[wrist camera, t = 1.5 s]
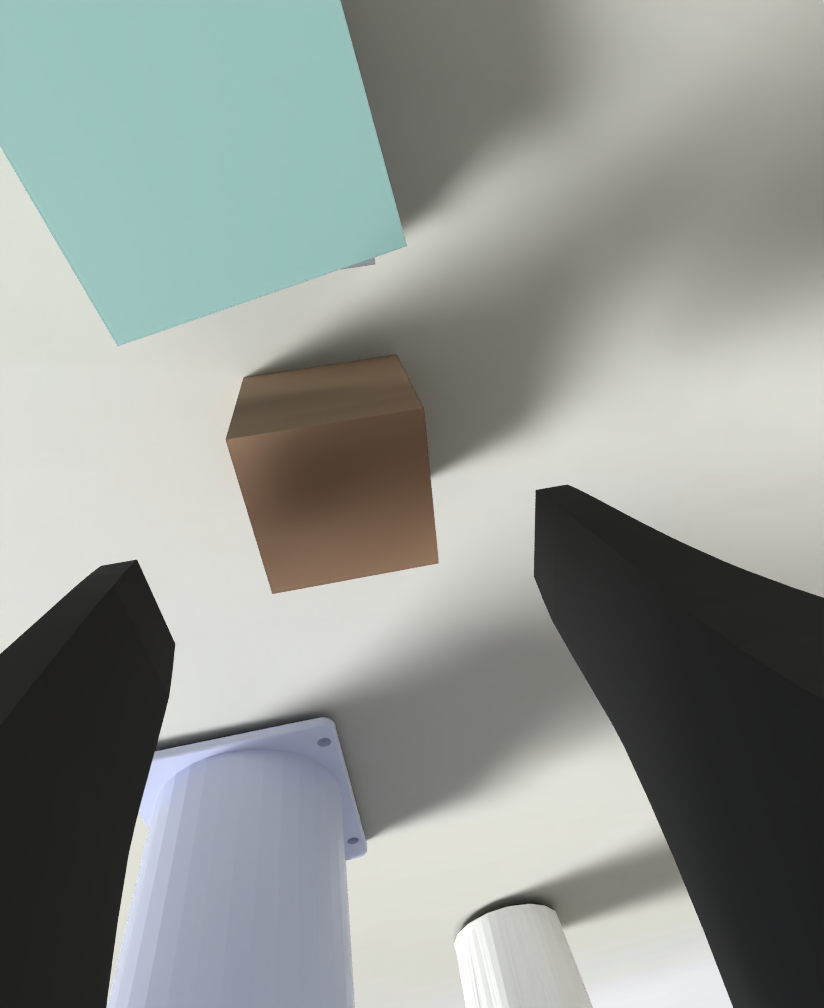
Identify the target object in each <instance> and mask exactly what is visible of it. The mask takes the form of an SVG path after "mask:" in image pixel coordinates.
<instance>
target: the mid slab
mask: <svg viewBox="0 0 824 1008" xmlns="http://www.w3.org/2000/svg"><path fill="white" fill-rule="evenodd" d="M0 147H1V148H2V150H3V152H4V153H5V155H6V157H7V159H8V160H9V162H10V164H11V165H12V167H13V169H14V170H15V172H16V174H17V176H18V177H19V179H20V181H21V182H22V184H23V186H24V188H25V189H26V191H27V193H28V194H29V196H30V198H31V199H32V201H33V203H34V205H35V206H36V208H37V210H38V211H39V213H40V215H41V216H42V218H43V220H44V222H45V223H46V225H47V227H48V228H49V230H50V232H51V234H52V235H53V237H54V239H55V240H56V242H57V244H58V245H59V247H60V249H61V251H62V252H63V254H64V256H65V257H66V259H67V261H68V262H69V264H70V266H71V268H72V269H73V271H74V273H75V274H76V276H77V278H78V280H79V281H80V283H81V285H82V286H83V288H84V290H85V291H86V293H87V295H88V297H89V298H90V300H91V302H92V303H93V305H94V307H95V308H96V310H97V312H98V314H99V315H100V317H101V319H102V320H103V322H104V324H105V326H106V327H107V329H108V331H109V332H110V334H111V336H112V337H113V339H114V341H115V343H116V344H117V346H120V345H123V344H126V343H129V342H131V341H134V340H137V339H140V338H143V337H146V336H149V335H152V334H155V333H157V332H160V331H163V330H166V329H169V328H172V327H175V326H178V325H180V324H183V323H186V322H189V321H192V320H195V319H198V318H201V317H204V316H206V315H209V314H212V313H215V312H218V311H221V310H224V309H227V308H229V307H232V306H235V305H238V304H241V303H244V302H247V301H250V300H253V299H255V298H258V297H261V296H264V295H267V294H270V293H273V292H276V291H279V290H281V289H284V288H287V287H290V286H293V285H296V284H299V283H302V282H304V281H307V280H310V279H313V278H316V277H319V276H322V275H325V274H328V273H330V272H333V271H336V270H339V269H342V268H345V267H348V266H351V265H353V264H356V263H359V262H362V261H365V260H368V259H371V258H374V257H377V256H379V255H382V254H385V253H388V252H391V251H394V250H397V249H400V248H402V247H405V246H407V244H406V240H405V237H404V233H403V229H402V226H401V222H400V218H399V214H398V211H397V207H396V203H395V200H394V196H393V192H392V189H391V185H390V181H389V178H388V174H387V170H386V167H385V163H384V159H383V155H382V152H381V148H380V144H379V141H378V137H377V133H376V130H375V126H374V122H373V119H372V115H371V111H370V107H369V104H368V100H367V96H366V93H365V89H364V85H363V82H362V78H361V74H360V71H359V67H358V63H357V60H356V56H355V52H354V48H353V45H352V41H351V37H350V34H349V30H348V26H347V23H346V19H345V15H344V12H343V8H342V4H341V0H0Z"/></svg>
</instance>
